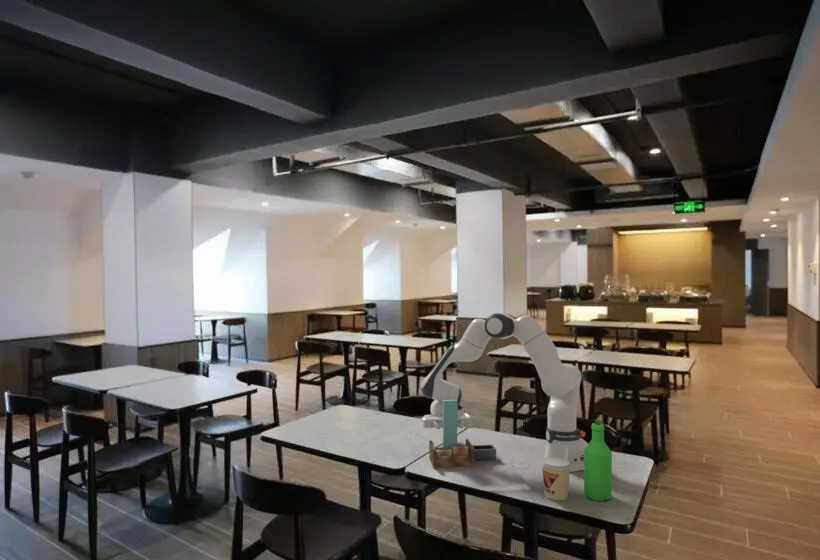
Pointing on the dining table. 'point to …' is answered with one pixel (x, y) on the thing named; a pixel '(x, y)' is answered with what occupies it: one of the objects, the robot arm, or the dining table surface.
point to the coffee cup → (556, 477)
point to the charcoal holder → (484, 453)
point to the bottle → (597, 466)
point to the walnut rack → (451, 458)
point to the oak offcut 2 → (460, 450)
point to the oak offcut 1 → (444, 452)
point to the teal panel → (449, 424)
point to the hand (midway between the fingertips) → (449, 426)
